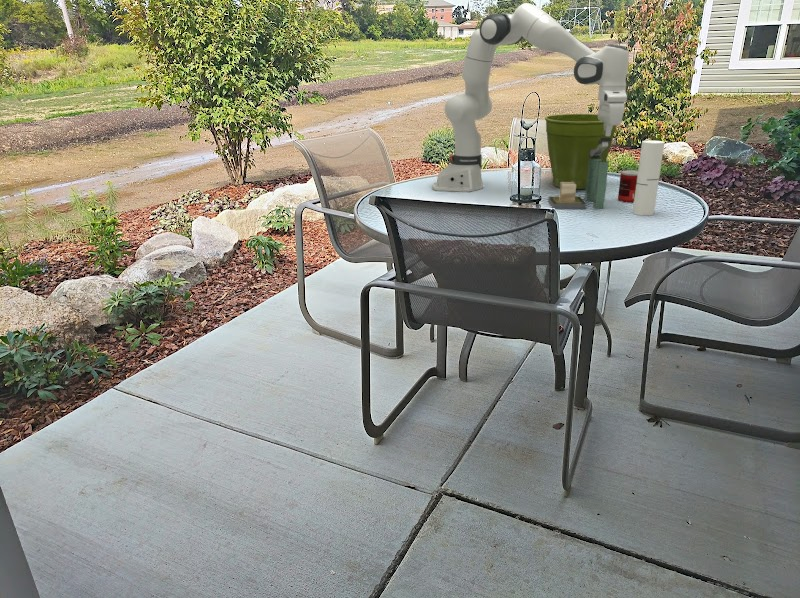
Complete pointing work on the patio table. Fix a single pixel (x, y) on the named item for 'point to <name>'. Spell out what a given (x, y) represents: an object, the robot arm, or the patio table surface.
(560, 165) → the plant pot
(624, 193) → the canned food
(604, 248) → the patio table surface
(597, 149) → the press lever
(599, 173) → the press base
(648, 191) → the cylindrical container
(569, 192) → the block
